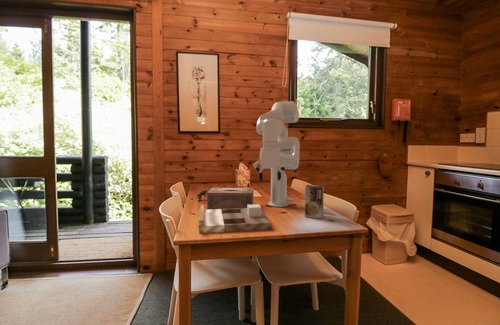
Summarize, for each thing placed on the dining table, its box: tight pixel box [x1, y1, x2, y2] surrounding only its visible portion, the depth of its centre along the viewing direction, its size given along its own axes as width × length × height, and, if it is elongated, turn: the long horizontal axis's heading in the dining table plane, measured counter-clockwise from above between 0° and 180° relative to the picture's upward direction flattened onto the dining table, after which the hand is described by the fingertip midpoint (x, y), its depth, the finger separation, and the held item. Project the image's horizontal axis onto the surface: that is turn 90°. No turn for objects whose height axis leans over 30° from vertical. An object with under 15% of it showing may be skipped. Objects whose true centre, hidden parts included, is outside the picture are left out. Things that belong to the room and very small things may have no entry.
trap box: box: [198, 204, 272, 234], centre depth 136 cm, size 32×27×6 cm
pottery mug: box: [196, 189, 209, 201], centre depth 182 cm, size 12×10×8 cm
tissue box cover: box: [206, 187, 255, 210], centre depth 166 cm, size 26×14×10 cm, turn 86°
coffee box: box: [304, 184, 325, 219], centre depth 145 cm, size 9×6×16 cm
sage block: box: [247, 203, 262, 217], centre depth 138 cm, size 6×6×4 cm
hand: (269, 180), depth 138 cm, fingers open, 8 cm apart
